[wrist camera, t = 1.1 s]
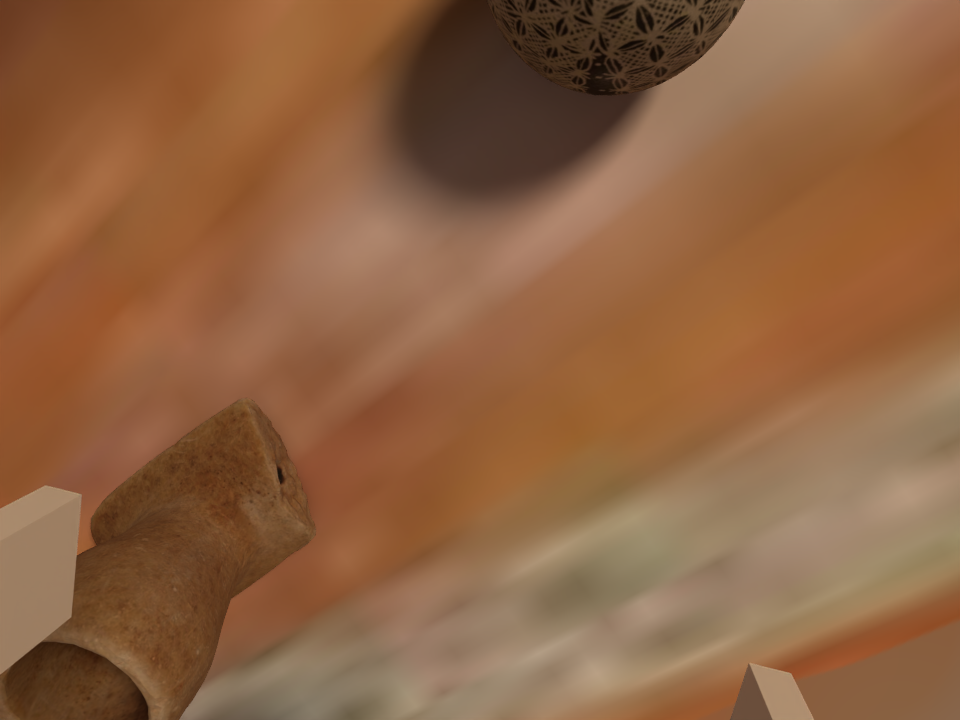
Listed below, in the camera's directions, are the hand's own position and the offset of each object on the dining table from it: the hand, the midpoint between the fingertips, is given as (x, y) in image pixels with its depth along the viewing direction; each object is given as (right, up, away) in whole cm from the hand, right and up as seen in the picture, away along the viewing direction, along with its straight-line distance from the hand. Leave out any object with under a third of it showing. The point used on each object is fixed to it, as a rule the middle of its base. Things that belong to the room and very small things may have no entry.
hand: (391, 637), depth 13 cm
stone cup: (-15, -5, +32) cm, 36 cm away
